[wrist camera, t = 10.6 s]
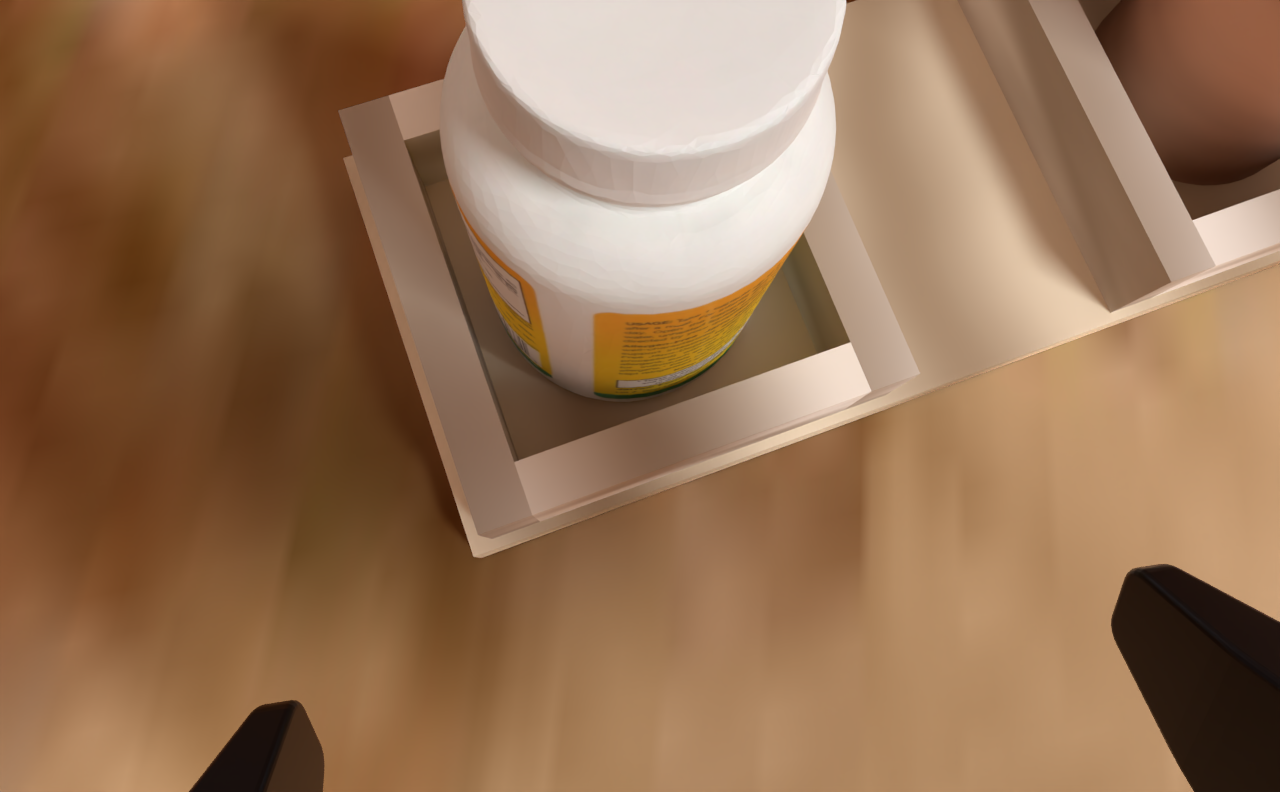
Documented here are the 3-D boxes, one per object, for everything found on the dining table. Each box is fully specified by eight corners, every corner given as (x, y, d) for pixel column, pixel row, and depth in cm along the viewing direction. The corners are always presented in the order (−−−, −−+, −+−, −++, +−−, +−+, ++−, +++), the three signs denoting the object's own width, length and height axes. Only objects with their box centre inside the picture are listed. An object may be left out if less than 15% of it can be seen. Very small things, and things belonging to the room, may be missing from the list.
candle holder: (1238, -91, 22) (1864, -742, 11) (1412, 215, 21) (2342, -192, 10) (358, 182, 19) (47, -318, 8) (482, 557, 18) (294, 536, 7)
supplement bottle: (454, 347, 18) (285, 89, 8) (558, 130, 19) (516, -318, 9) (694, 448, 17) (805, 303, 8) (786, 223, 18) (979, -137, 9)
